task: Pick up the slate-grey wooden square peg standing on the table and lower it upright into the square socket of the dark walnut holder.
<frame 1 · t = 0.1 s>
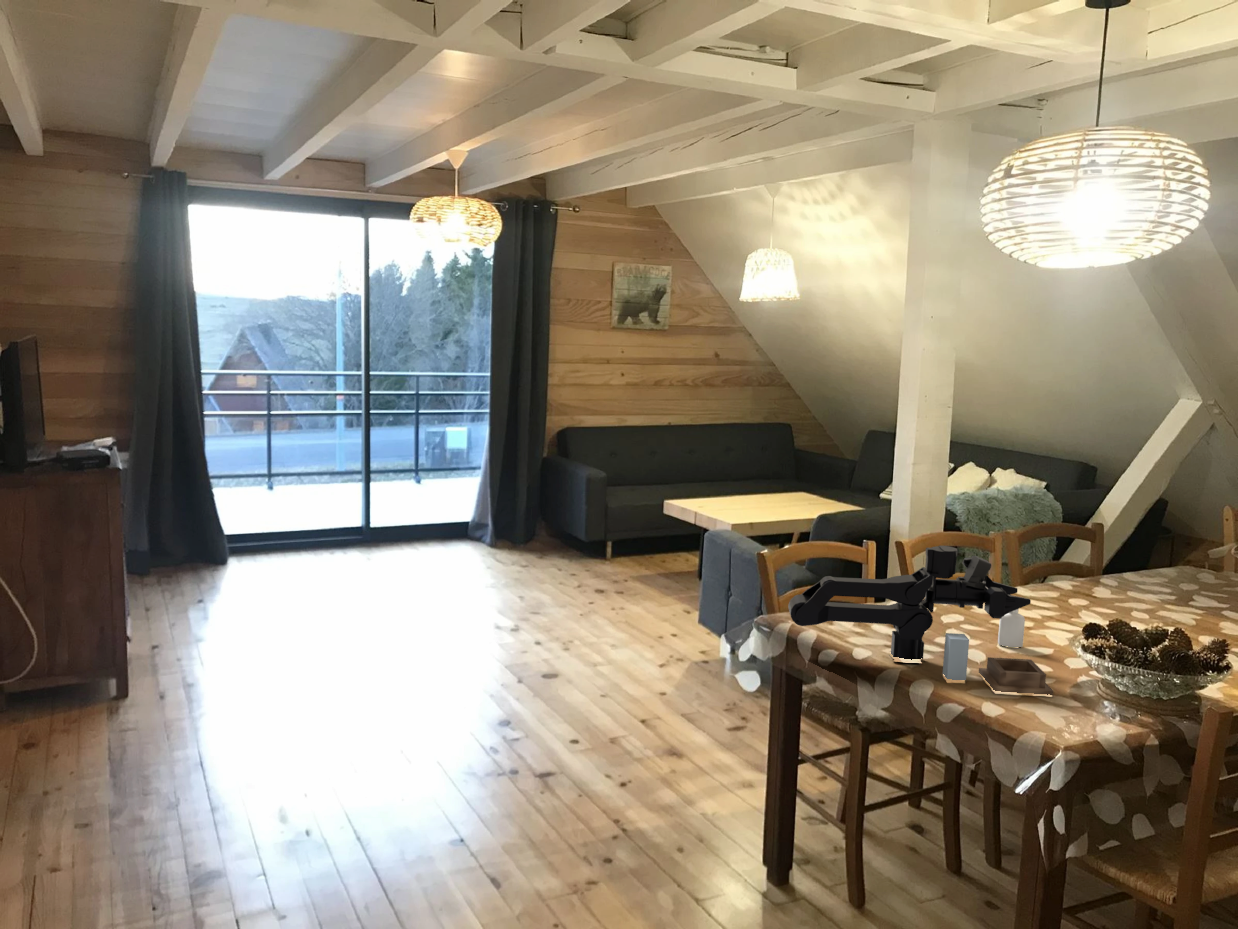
hand: (1023, 595, 221), 17 cm above the table, tool horizontal, fingers open, 9 cm apart
slate peg: (953, 680, 213), on the table
eye dropper bottle: (1009, 647, 237), on the table
walnut holder: (1014, 685, 211), on the table
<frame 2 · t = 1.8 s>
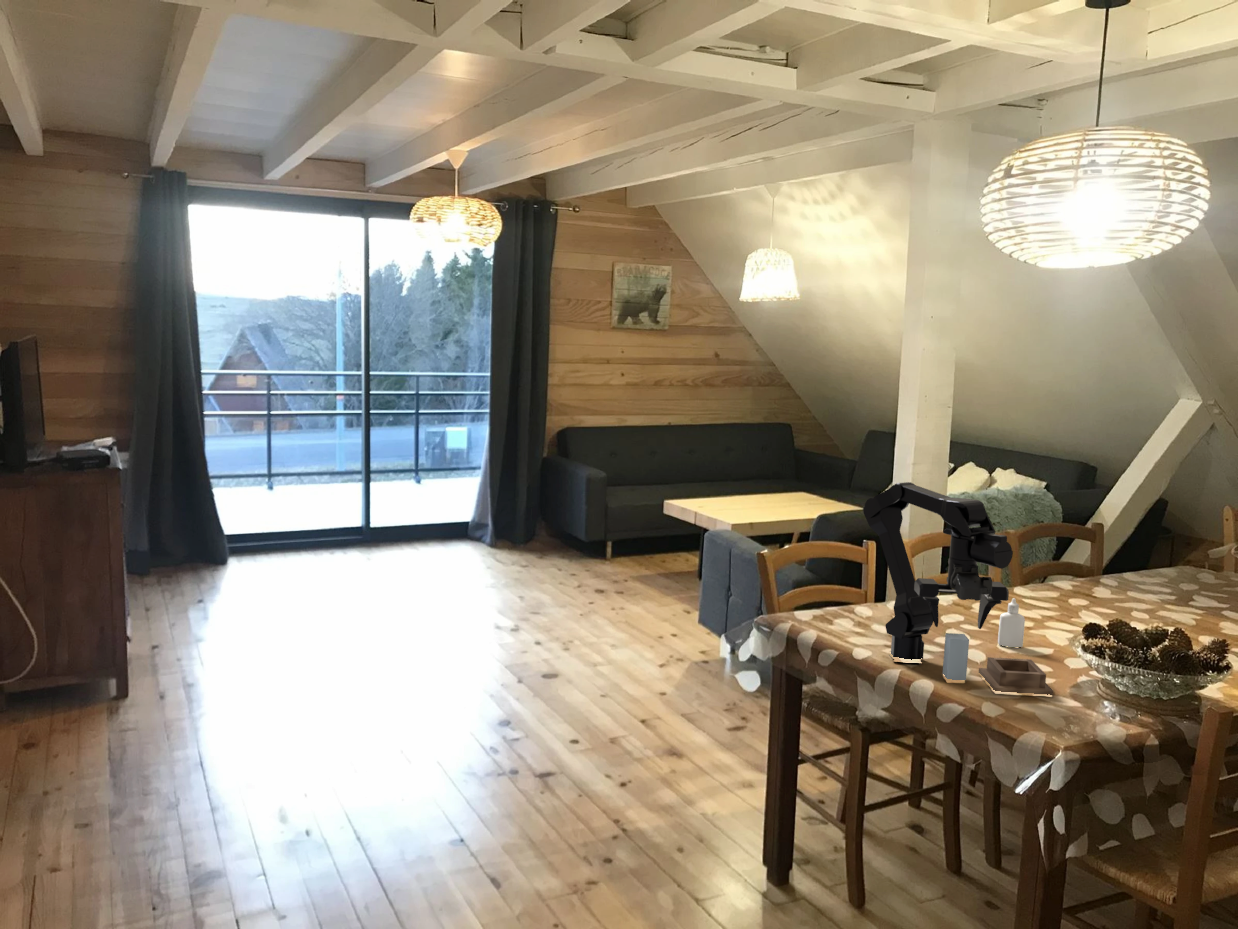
hand: (957, 627, 211), 12 cm above the table, tool pointing down, fingers open, 9 cm apart
nothing on the table moved.
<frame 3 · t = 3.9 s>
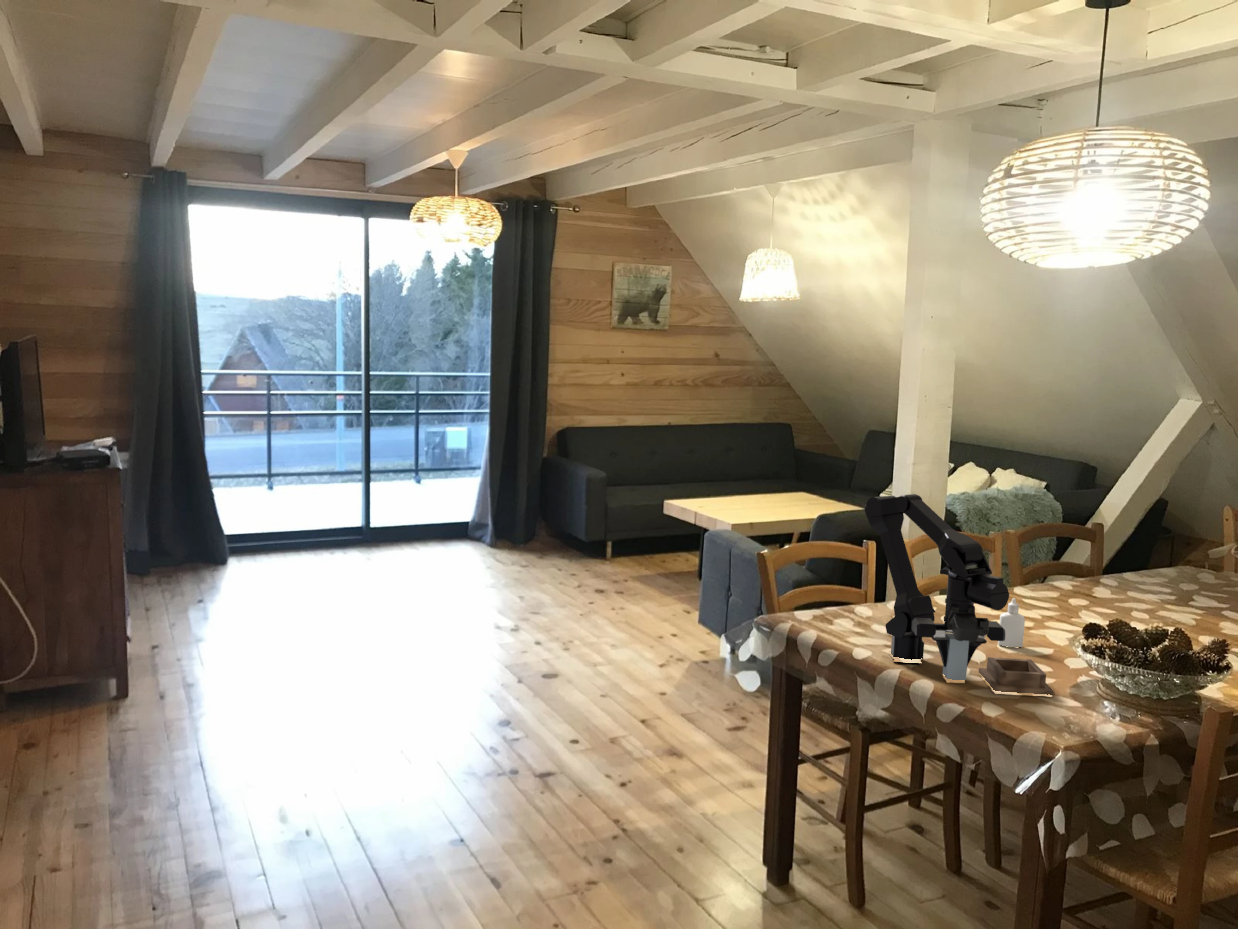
hand: (954, 666, 213), 3 cm above the table, tool pointing down, fingers closed on slate peg, 4 cm apart
slate peg: (953, 680, 213), on the table, touching gripper
everything else where it was.
when the fingers open (6 cm above the table, at t = 9.0 s): slate peg drops 1 cm, resting on walnut holder.
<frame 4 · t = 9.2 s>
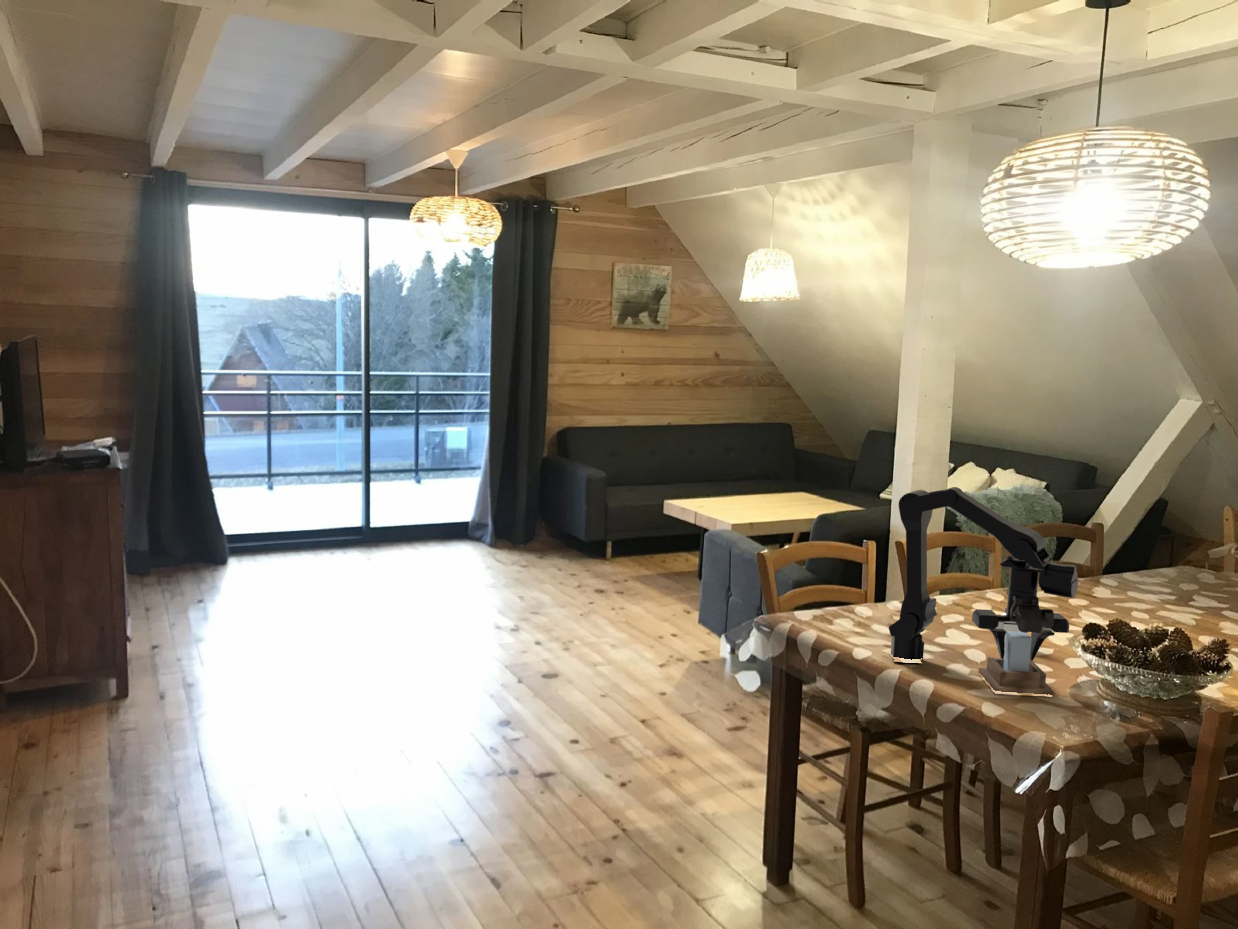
hand: (1016, 659, 210), 6 cm above the table, tool pointing down, fingers open, 6 cm apart
slate peg: (1014, 679, 210), point 2 cm above the table, touching walnut holder
everything else where it was.
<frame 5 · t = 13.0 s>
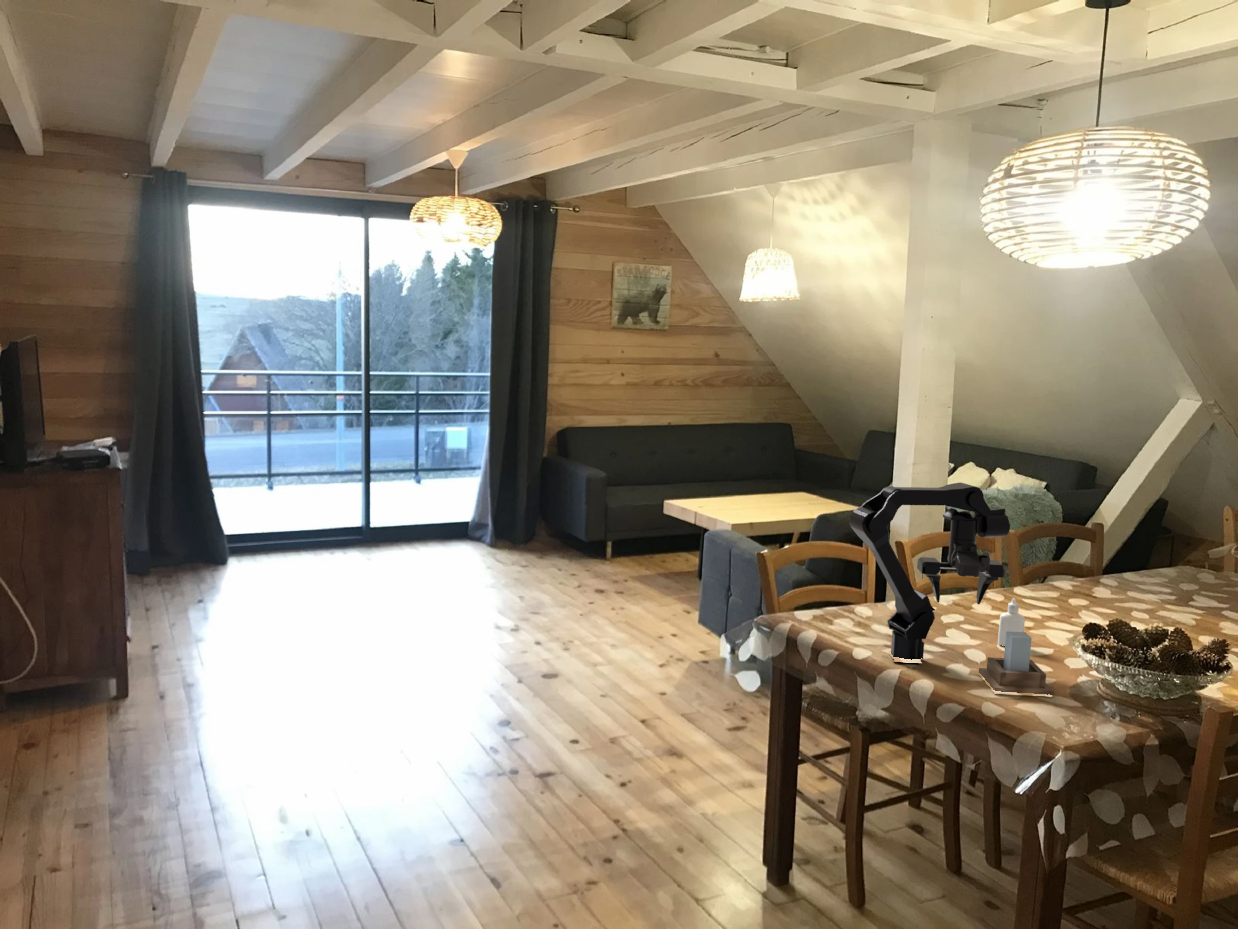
hand: (957, 603, 227), 13 cm above the table, tool pointing down, fingers open, 9 cm apart
nothing on the table moved.
at the end: slate peg 0.0 cm off-centre on the walnut holder, point 1.5 cm above the walnut holder's base; slate peg tilted 0°; the gripper is holding nothing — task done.
